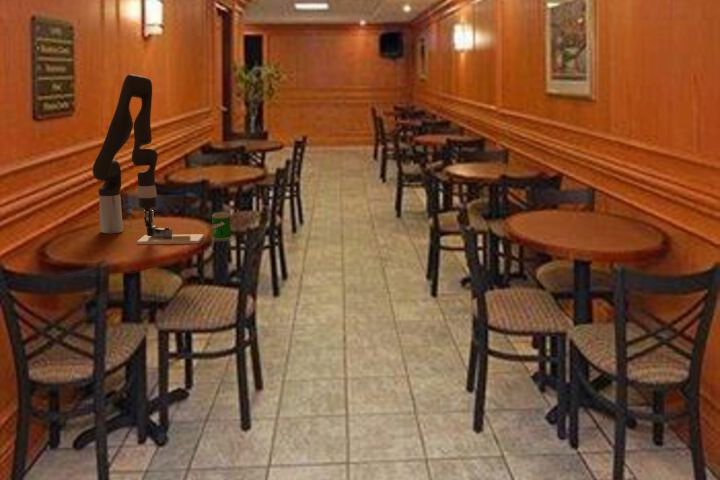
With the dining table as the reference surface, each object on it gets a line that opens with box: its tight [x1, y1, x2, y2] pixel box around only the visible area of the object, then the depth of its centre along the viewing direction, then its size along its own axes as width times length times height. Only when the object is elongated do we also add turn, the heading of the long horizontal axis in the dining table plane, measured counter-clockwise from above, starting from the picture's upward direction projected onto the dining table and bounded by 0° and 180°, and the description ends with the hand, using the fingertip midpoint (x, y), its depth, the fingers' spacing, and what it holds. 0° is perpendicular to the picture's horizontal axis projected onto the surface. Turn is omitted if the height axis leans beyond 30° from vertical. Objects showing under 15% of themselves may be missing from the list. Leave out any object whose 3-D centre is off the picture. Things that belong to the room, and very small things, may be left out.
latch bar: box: [152, 225, 173, 239], centre depth 331 cm, size 12×4×4 cm, turn 61°
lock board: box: [136, 233, 205, 245], centre depth 331 cm, size 26×13×3 cm, turn 91°
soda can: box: [211, 211, 232, 242], centre depth 330 cm, size 8×8×12 cm
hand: (150, 235), depth 329 cm, fingers closed
